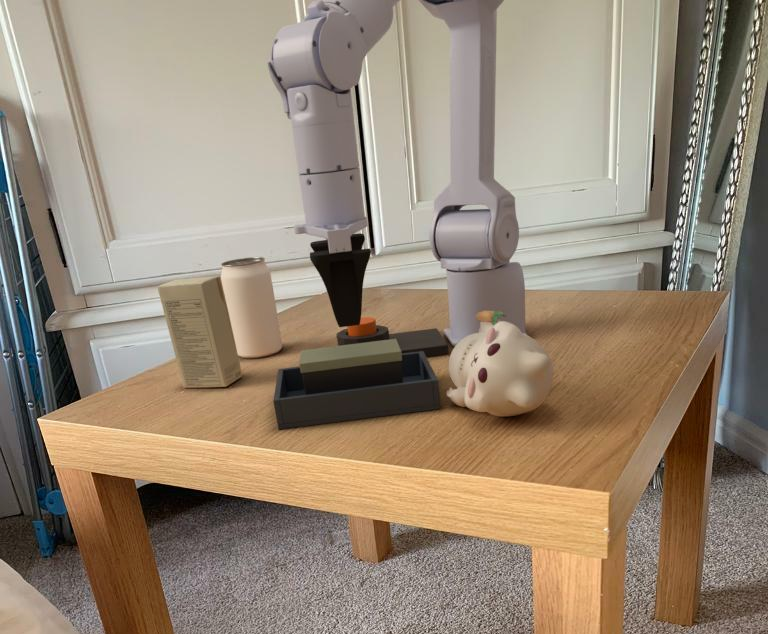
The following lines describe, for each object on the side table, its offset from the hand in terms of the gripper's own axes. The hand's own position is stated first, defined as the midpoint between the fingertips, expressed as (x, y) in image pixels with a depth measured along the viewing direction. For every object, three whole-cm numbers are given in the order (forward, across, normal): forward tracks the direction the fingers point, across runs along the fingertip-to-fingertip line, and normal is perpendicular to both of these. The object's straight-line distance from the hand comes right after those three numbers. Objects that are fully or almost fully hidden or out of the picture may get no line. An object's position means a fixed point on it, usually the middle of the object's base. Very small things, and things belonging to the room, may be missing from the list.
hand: (347, 316), depth 77 cm
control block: (+9, -17, +6) cm, 20 cm away
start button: (+6, -17, +2) cm, 18 cm away
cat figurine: (+9, +9, +13) cm, 19 cm away
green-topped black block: (+8, +1, 0) cm, 8 cm away
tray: (+9, +1, 0) cm, 9 cm away
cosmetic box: (+9, -13, -17) cm, 23 cm away
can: (+9, -25, -12) cm, 29 cm away
